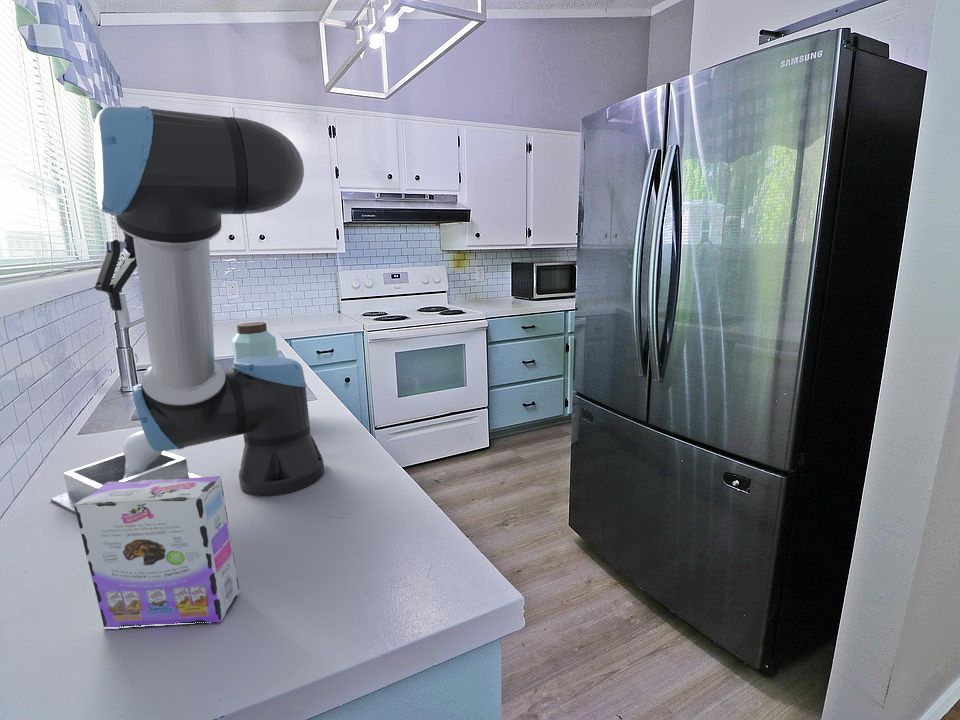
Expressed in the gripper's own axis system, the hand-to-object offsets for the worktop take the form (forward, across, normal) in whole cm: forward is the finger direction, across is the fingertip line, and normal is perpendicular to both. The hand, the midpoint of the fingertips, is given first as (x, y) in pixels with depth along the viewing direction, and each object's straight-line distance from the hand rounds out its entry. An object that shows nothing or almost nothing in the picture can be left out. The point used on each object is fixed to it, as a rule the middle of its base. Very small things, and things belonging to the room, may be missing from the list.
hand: (161, 322), depth 105 cm
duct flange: (+29, +15, +9) cm, 34 cm away
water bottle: (+29, -21, -1) cm, 36 cm away
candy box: (+29, +29, +49) cm, 64 cm away
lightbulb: (+27, +16, +11) cm, 34 cm away
